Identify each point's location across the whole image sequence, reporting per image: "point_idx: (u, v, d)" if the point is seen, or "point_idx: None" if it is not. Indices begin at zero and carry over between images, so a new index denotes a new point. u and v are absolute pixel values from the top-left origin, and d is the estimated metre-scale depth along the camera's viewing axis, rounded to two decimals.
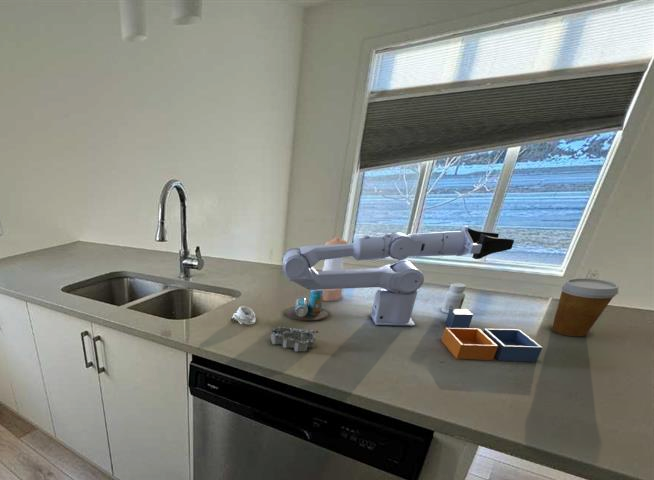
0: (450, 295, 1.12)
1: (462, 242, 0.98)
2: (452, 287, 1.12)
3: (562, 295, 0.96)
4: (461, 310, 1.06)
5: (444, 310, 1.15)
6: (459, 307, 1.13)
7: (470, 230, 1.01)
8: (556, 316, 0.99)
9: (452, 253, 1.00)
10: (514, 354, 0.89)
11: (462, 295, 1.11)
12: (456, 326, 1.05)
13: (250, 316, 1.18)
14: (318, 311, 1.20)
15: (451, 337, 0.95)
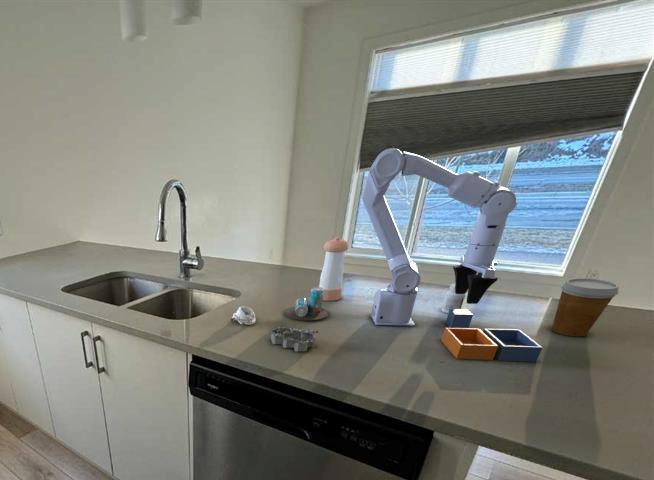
0: (450, 295, 1.12)
1: (486, 262, 0.96)
2: (452, 287, 1.12)
3: (562, 295, 0.96)
4: (461, 310, 1.06)
5: (444, 310, 1.15)
6: (459, 307, 1.13)
7: None
8: (556, 316, 0.99)
9: (473, 257, 0.97)
10: (514, 354, 0.89)
11: (462, 295, 1.11)
12: (456, 326, 1.05)
13: (250, 316, 1.18)
14: (318, 311, 1.20)
15: (451, 337, 0.95)
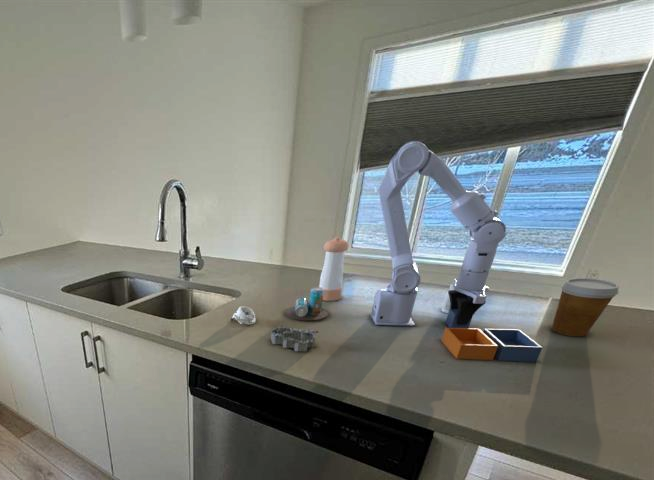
0: None
1: (477, 288, 0.99)
2: (452, 287, 1.12)
3: (562, 295, 0.96)
4: None
5: (444, 310, 1.15)
6: None
7: None
8: (556, 316, 0.99)
9: (465, 282, 1.00)
10: (514, 354, 0.89)
11: None
12: (456, 326, 1.05)
13: (250, 316, 1.18)
14: (318, 311, 1.20)
15: (451, 337, 0.95)
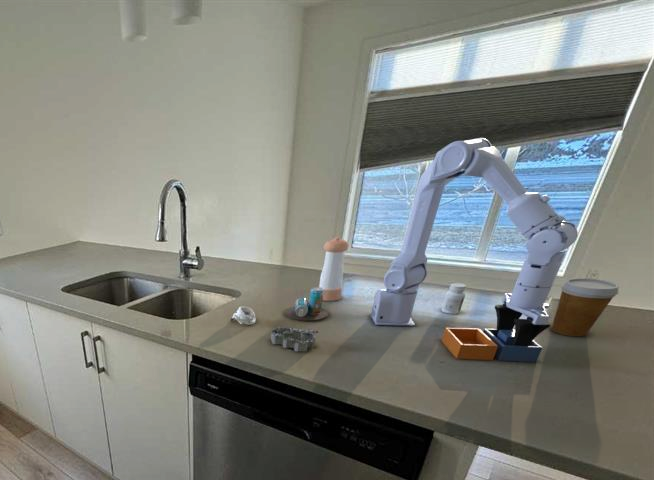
0: (450, 295, 1.12)
1: (537, 306, 0.85)
2: (452, 287, 1.12)
3: (562, 295, 0.96)
4: (513, 331, 0.92)
5: (444, 310, 1.15)
6: (459, 307, 1.13)
7: None
8: (556, 316, 0.99)
9: (521, 299, 0.86)
10: (514, 354, 0.89)
11: (462, 295, 1.11)
12: None
13: (250, 316, 1.18)
14: (318, 311, 1.20)
15: (451, 337, 0.95)
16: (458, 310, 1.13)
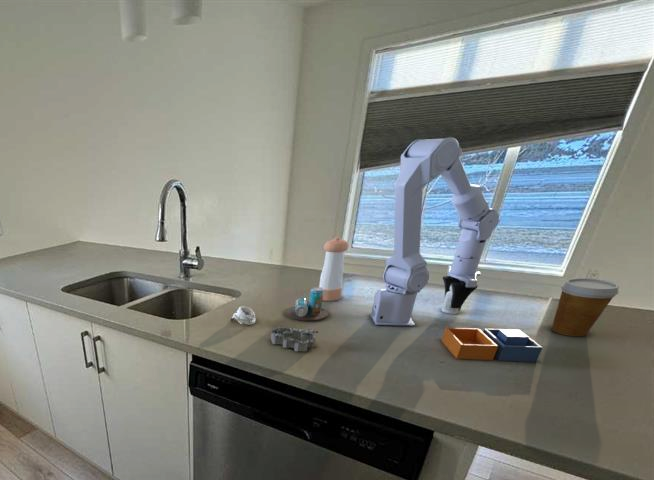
0: (450, 295, 1.12)
1: (470, 273, 1.07)
2: None
3: (562, 295, 0.96)
4: (513, 331, 0.92)
5: (444, 310, 1.15)
6: None
7: None
8: (556, 316, 0.99)
9: (458, 268, 1.08)
10: (514, 354, 0.89)
11: None
12: None
13: (250, 316, 1.18)
14: (318, 311, 1.20)
15: (451, 337, 0.95)
16: (458, 310, 1.13)
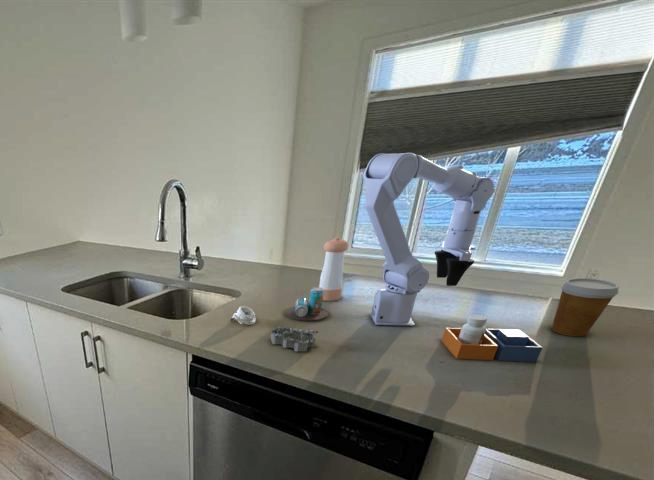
0: (467, 330, 0.92)
1: (464, 247, 1.03)
2: (470, 320, 0.91)
3: (562, 295, 0.96)
4: (513, 331, 0.92)
5: None
6: (478, 344, 0.92)
7: None
8: (556, 316, 0.99)
9: (452, 242, 1.04)
10: (514, 354, 0.89)
11: (482, 330, 0.91)
12: None
13: (250, 316, 1.18)
14: (318, 311, 1.20)
15: (451, 337, 0.95)
16: None
